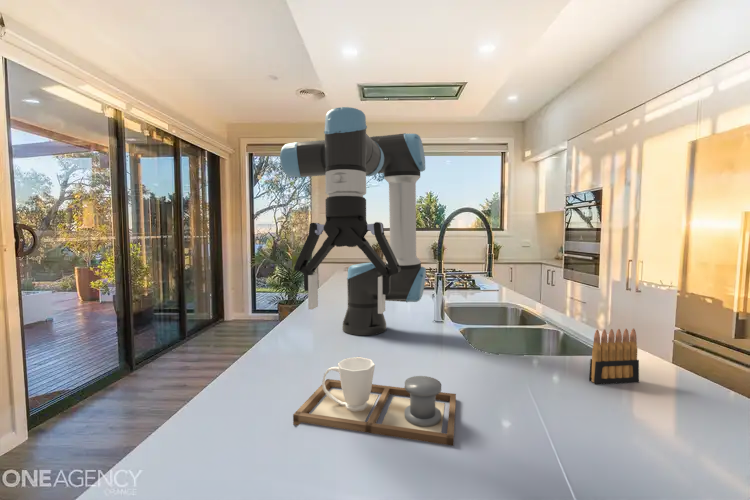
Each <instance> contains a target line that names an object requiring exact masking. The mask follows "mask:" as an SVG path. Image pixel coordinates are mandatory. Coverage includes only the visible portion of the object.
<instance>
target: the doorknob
mask: <svg viewBox="0 0 750 500" xmlns="http://www.w3.org/2000/svg"><path fill="white" fill-rule="evenodd" d="M404 388H405V390H406V391H407V392H409V393H410V397H409V399H410V406H408V407H407V408H406V409H405V419H406V420H407V421H408V422H409V423H410V424H412V425H415V426H419V427H431V426H435V425H437V424H438V423H439V422H440V421H441V412H440V410H439V409H438V408H436V407H435V402H436V400H435V395H437V394H439V393H440V392H442V382H441V381H439V379H436V378H434V377H431V376H426V375H414V376H410V377H408V378H406V379H405V381H404Z"/></svg>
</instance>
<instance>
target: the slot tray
mask: <svg viewBox="0 0 750 500" xmlns="http://www.w3.org/2000/svg"><path fill="white" fill-rule="evenodd" d="M325 387H326V389H327V390H328V392H329V393H330V394H332V395H333V396H334V397H335V398H337V399H338V400H340V401H342V402H346V401H345V399H344V395H343V391H342V387H341V380H340V379H330V378H327V379H325ZM332 388H333V389H332ZM335 388H337V389H335ZM374 393H378V394H374ZM379 394H381V395H380V396H379ZM325 395H326V393H325V392H324V390H323V387H322V384H321V385H320V386H319V387H318V388H317V389H316V390H315V391H314V392H313V393H312V394H311V395H310V396H309V397H308V398H307V399H306V400H305V401H304V402H303V404H302V405H300V407H299V408H298V409H297V410H296V411H295V412H294V413H293V414H292V421H293V422H292V423H293V424H292V425H293V426H299V425H301V423H303V424H304V423H305V424H309V425H317V426H321V427H322V426H323V427H328V428H329V427H330V428H336V429H342V430H348V431H349V430H350V431H354V432H362V433H368V434H375V435H380V436H381V435H382V436H388V437H393V438H401V439H408V440H413V441H414V440H415V441H418V442H419V441H420V442H426V443H431V444H439V445H446V446H452V447H454V437H455V425H456V423H455V422H456V405H457V404H456V402H457V393H451V392H450V393H449V392H442V391H441V392H440V393H439V394H437V395H435V407H436V408H438V409H439V410H440V412H441V421H440V422H439V423H438V424H437V425H435V426H431V427H419V426H415V425H412V424H410V423H409V422H408V421H407V420H406V419H405V409H406V408H407V407H408V406H410V393H409V392H407V391H406V390H405V387H399V386H392V385H382V384H374V383H372V388H371V392H370V396H369V400H368V401H367V403H368V407H367V408H365V409H364V410H362V411H355V412H354V411H351V410H347V409H346V406H342V405H340V404H338V403H336V402H335V401H333V400H332V399H331V398H330V397H328V396H327V395H326V396H325ZM390 395H395V396H393V397H392V399H391V402H390V404H389V406H388V409H387V411H386V412H385V413H386V414H385V415H384V418H383V420H382V421H381V423H377V422H378V419H379V418H380V415H381V413H382V411H383V410H384V407H385V405H386V403H387V400H388V399H389V396H390ZM399 396H401V397H399ZM402 396H403V397H402ZM407 397H408V398H407ZM378 398H379V399H378ZM377 399H378V400H377ZM376 401H377V402H376ZM439 401H444V402H439ZM319 402H320V403H319ZM446 402H449V406H448V407H449V409H448V416H447V417H448V418H447V429H446V433H445V432H444V433H443V432H442V429H443V423H444V422H443V421H444V412H445V406H446V405H445V403H446ZM375 403H376V404H375ZM374 405H375V406H374ZM373 407H374V408H373ZM313 409H314V410H313ZM312 410H313V411H312ZM311 411H312V412H311ZM371 411H372V412H371ZM370 412H371V414H370ZM369 414H370V416H369ZM368 416H369V418H368ZM367 418H368V420H366V419H367Z"/></svg>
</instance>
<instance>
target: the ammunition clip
mask: <svg viewBox="0 0 750 500" xmlns="http://www.w3.org/2000/svg"><path fill="white" fill-rule="evenodd" d="M637 338H638V337H637V333H636V329H635V328H632V329H631V332H630V334H629V330H628V329H627V328H625V329H624V330H623V333H622V332H621V329H620V328H618V329H617V330H616V333H615V332H614V329H612V328H611V329H610V330H609V333H607V330H606V329H603V330H602V333H601V335H600V331H599V330H598V329H596V330H595V333H594V336H593V345H592V349H591V350H592V351H591V352H592V353H591V358H590V362H589V374H588V375H589V376H588V377H589V378H588V381H589V382H591V383H592V384H593V385H597V386H598V385H616V384H617V385H618V384H634V383H636V384H637V383H640V361H639V359H638V342H637Z"/></svg>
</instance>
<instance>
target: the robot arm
mask: <svg viewBox="0 0 750 500" xmlns="http://www.w3.org/2000/svg"><path fill="white" fill-rule="evenodd" d="M366 120H367V119H366V114H365V112H363V111H362V110H360V109H358V108H357V107H349V106H341V107H335V108H332V109H330V110H328V111H327V113H326V114H325V120H324V131H323V134H324V140H323V139H322V140H311V141H310V140H309V141H308V140H307V141H295V142H289V143H285V144H284V145H283V146H282V147H281V150H280V155H279V157H280V158H279V159H280V166H281V168H282V170H283V172H284V174H286V176H288V177H291V178H297V177H298V178H306V177H319V176H320V177H321V176H324V178H325V195H327V197H326V199H325V223H324V224H321V223H319V222H311V223H310V224H309V227H308V228H309V229H308V230H309V231H308V235H307V237H306V240H305V242H304V245H303V247H302V249H301V251H300V253H299V255H298V257H297V260H296V262H295V264H294V268H293V269H294V271H296V272H300V273H302V275H303V289H304V291H305V292H308V297H307V298H308V299H307V300H308V301H307V303H308V310H314V309H316V308H318V307H319V282H318V281H319V280H318V279H319V275H318V274H319V273H315V272H316V270H317V268H318V267H319V266H320V265H321V264H322V262H323V261H324V259H325V258H326V257H327V256H328V255H329V253H330V252H331V251H332V249H333V248H335V247H337V248H338V247H339V248H340V247H341V248H342V247H348V248H350V247H351V248H354V247H358V249H360V250H361V251H362V252H363V254H364V255H365V256H366V258H367V259H368V260H369V261H370V262H363V263H357V264H353V265H350V266H348V269H347V278H346V280H347V287H346V288H347V309H346V312H345V315H344V318H343V322H342V331H343V332H344V333H346V334H350V335H355V336H373V335H379V334H382V333H384V332H386V331H387V322H386V317H385V315H384V313H385V311H386V301H388V302H403V303H405V302H406V303H417V302H420V300H422V297H423V293H424V291H425V290H424V289H425V285H426V276H427V268H426V267H424V266H422V260H421V259H419V258H418V257H417V207H416V206H417V205H416V204H417V201H416V200H417V195H416V194H417V191H416V187H417V186H416V183H417V182H418V180H420V178H421V172H425V170H426V156H425V151H424V145H423V141H422V138H421V136H420V135H419V134H417V133H406V132H405V133H399V134H397V133H396V134H388V135H387V134H386V135H376V136H374V135H373V136H369V135H368V134H367V129H368V125H367V121H366ZM377 174H383V179H384V180H385V181H386V182H387V183H388V199H389V200H388V202H389V205H388V206H389V208H388V209H389V241H388V239H387V237H386V235H385V230H384V224H383V223H382V222H380V221H375V222H374V223H368V222H367V199H366V198H365V197H364V196H365V195H366V194H367V177H373V176H375V175H377ZM369 231H370V233H371V234H372V235H373V236H374V237H375V240H376V242H377V244H378V245H379V248H380V250H381V253H382V254H383V256H384V258H385V260H386V261H383V260H382V258H381V257H380V256H379V254H378V253H377V252H376V251H375V249H374V248H373V247H372V246H371V244H370V242H369V241H368V240H367V239H366V237H365V236H366V235H367V233H368V232H369ZM323 232H325V234H326V236H327V237H326V238H325V239H324V241H323V243H322V245H321V246H320V248H319V249H318V250H317V252H316V253H315V254H314V256H312V254H313V253H314V250H315V248H316V246H317V243H318V241H319V238H320V236H321V235H322V234H323ZM311 256H312V258H311ZM310 258H311V259H310Z"/></svg>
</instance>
